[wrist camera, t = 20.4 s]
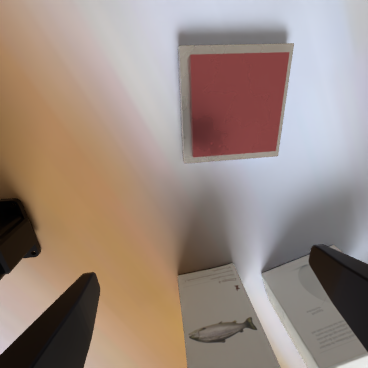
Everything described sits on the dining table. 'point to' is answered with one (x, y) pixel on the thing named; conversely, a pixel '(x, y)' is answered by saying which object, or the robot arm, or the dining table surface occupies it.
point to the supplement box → (221, 322)
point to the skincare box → (312, 317)
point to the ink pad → (232, 100)
